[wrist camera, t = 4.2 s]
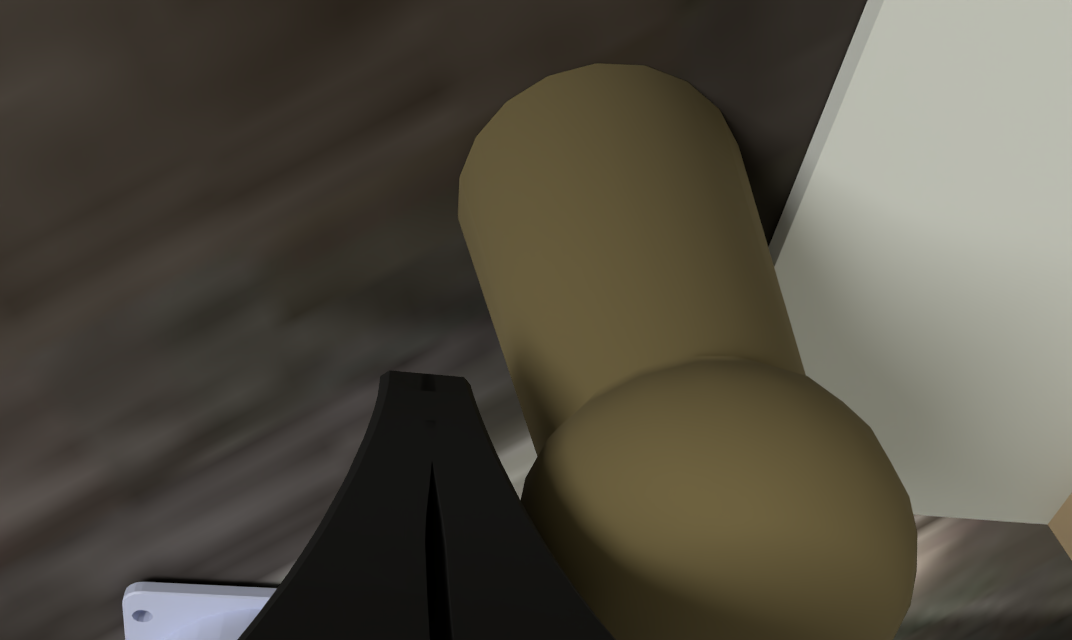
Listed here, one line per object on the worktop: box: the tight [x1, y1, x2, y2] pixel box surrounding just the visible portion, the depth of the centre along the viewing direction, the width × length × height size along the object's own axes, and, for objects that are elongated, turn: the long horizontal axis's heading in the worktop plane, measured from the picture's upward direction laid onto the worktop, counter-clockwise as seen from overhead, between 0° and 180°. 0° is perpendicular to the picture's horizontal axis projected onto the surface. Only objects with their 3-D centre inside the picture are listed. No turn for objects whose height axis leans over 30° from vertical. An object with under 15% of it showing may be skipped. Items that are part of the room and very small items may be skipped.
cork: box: [458, 63, 917, 640], centre depth 16 cm, size 6×6×11 cm
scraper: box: [768, 0, 1072, 560], centre depth 21 cm, size 16×12×2 cm
